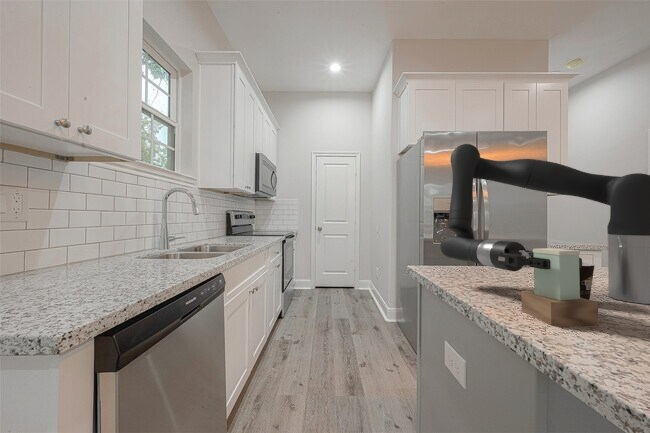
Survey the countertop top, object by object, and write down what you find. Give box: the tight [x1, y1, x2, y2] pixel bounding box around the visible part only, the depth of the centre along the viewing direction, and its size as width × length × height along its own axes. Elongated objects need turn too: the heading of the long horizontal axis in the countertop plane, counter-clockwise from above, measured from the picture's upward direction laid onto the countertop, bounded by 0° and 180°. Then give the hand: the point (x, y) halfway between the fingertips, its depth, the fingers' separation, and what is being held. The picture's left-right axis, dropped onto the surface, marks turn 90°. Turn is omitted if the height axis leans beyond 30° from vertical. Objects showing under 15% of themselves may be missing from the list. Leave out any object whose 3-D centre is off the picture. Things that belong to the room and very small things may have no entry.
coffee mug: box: [579, 261, 595, 300], centre depth 72 cm, size 12×9×10 cm
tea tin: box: [532, 247, 581, 301], centre depth 60 cm, size 6×6×10 cm
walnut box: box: [520, 290, 599, 328], centre depth 59 cm, size 9×9×5 cm
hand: (565, 263), depth 58 cm, fingers open, 8 cm apart
